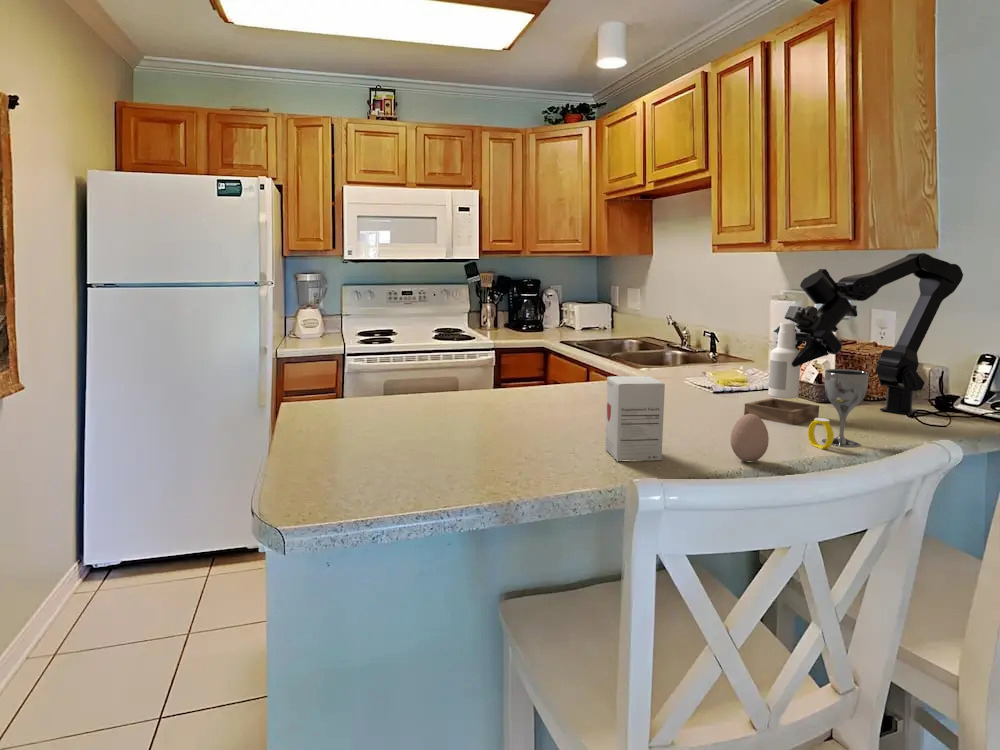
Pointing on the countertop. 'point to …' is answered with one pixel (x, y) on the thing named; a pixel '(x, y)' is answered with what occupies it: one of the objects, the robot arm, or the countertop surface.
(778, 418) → the collar
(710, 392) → the countertop surface
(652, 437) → the supplement box
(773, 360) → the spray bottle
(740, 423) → the egg
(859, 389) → the wine glass
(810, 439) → the watch
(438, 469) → the countertop surface
